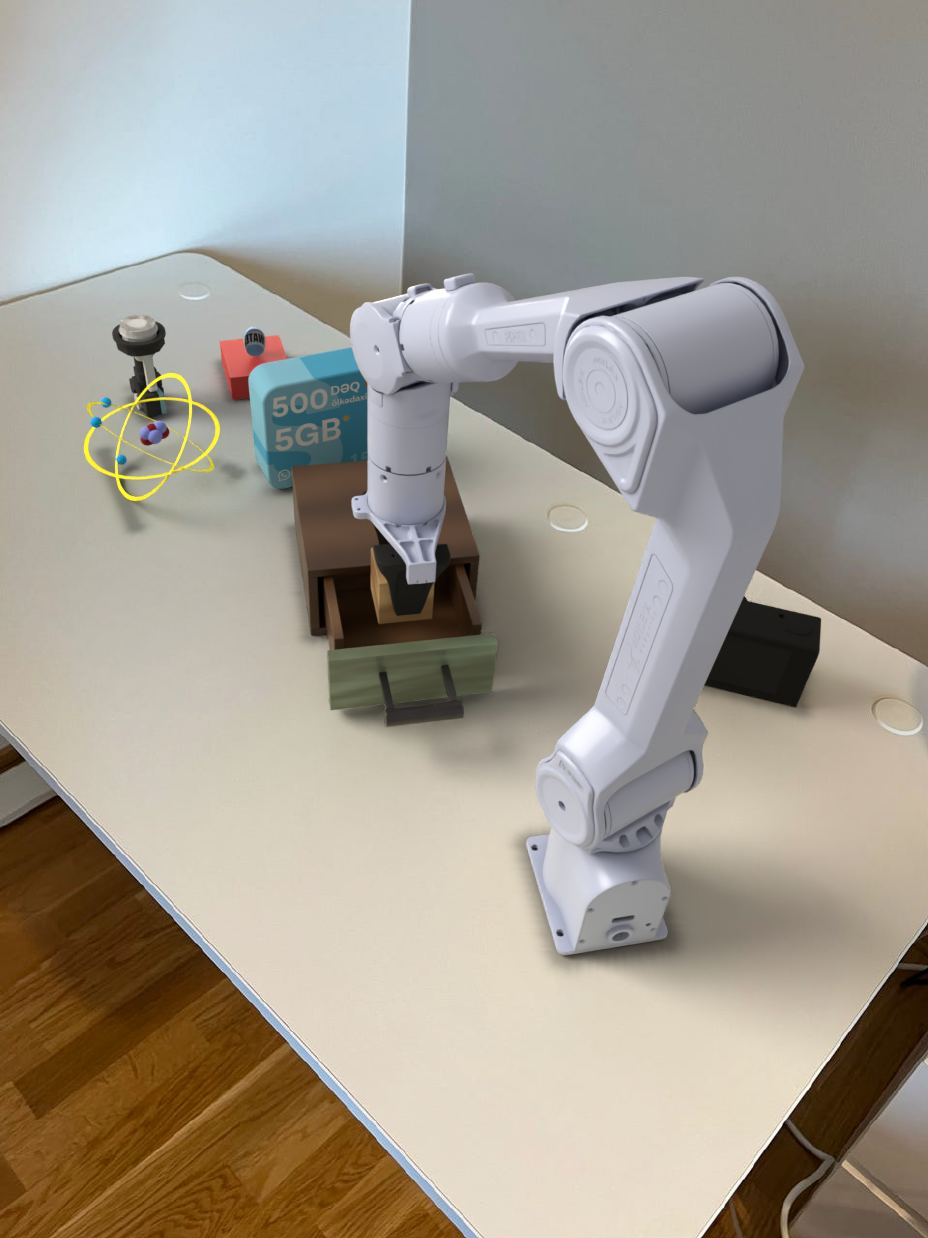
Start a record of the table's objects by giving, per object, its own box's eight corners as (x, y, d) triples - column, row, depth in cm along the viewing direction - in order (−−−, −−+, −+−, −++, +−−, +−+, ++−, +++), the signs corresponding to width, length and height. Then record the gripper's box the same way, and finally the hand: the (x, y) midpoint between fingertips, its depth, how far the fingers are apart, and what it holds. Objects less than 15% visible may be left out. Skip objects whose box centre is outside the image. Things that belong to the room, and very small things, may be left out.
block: (432, 619, 86) (434, 578, 83) (378, 624, 86) (378, 584, 83) (422, 582, 89) (424, 542, 86) (370, 587, 89) (370, 547, 86)
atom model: (66, 439, 110) (192, 395, 115) (123, 557, 106) (252, 507, 110) (38, 357, 98) (181, 311, 102) (101, 486, 94) (248, 432, 98)
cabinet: (473, 619, 96) (480, 555, 91) (310, 635, 93) (307, 570, 88) (442, 517, 106) (446, 454, 101) (295, 529, 103) (291, 465, 98)
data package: (269, 493, 107) (261, 389, 99) (255, 468, 110) (246, 365, 102) (380, 467, 111) (381, 366, 103) (363, 443, 114) (363, 343, 106)
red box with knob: (221, 362, 124) (216, 312, 120) (280, 356, 126) (277, 307, 121) (232, 399, 119) (227, 349, 114) (293, 392, 120) (290, 342, 116)
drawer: (506, 740, 85) (513, 692, 81) (338, 761, 83) (337, 712, 78) (459, 583, 98) (463, 534, 94) (312, 597, 95) (310, 547, 91)
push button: (114, 394, 118) (98, 311, 111) (160, 382, 120) (147, 300, 113) (136, 424, 114) (121, 340, 107) (183, 411, 116) (172, 328, 109)
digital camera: (800, 664, 95) (823, 607, 90) (797, 708, 91) (821, 651, 86) (683, 636, 96) (700, 579, 91) (676, 679, 92) (693, 621, 87)
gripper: (339, 400, 81) (342, 537, 91) (366, 519, 71) (366, 659, 81) (430, 394, 83) (423, 530, 92) (469, 511, 73) (457, 650, 82)
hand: (402, 590), depth 87 cm, fingers closed on block, 4 cm apart
